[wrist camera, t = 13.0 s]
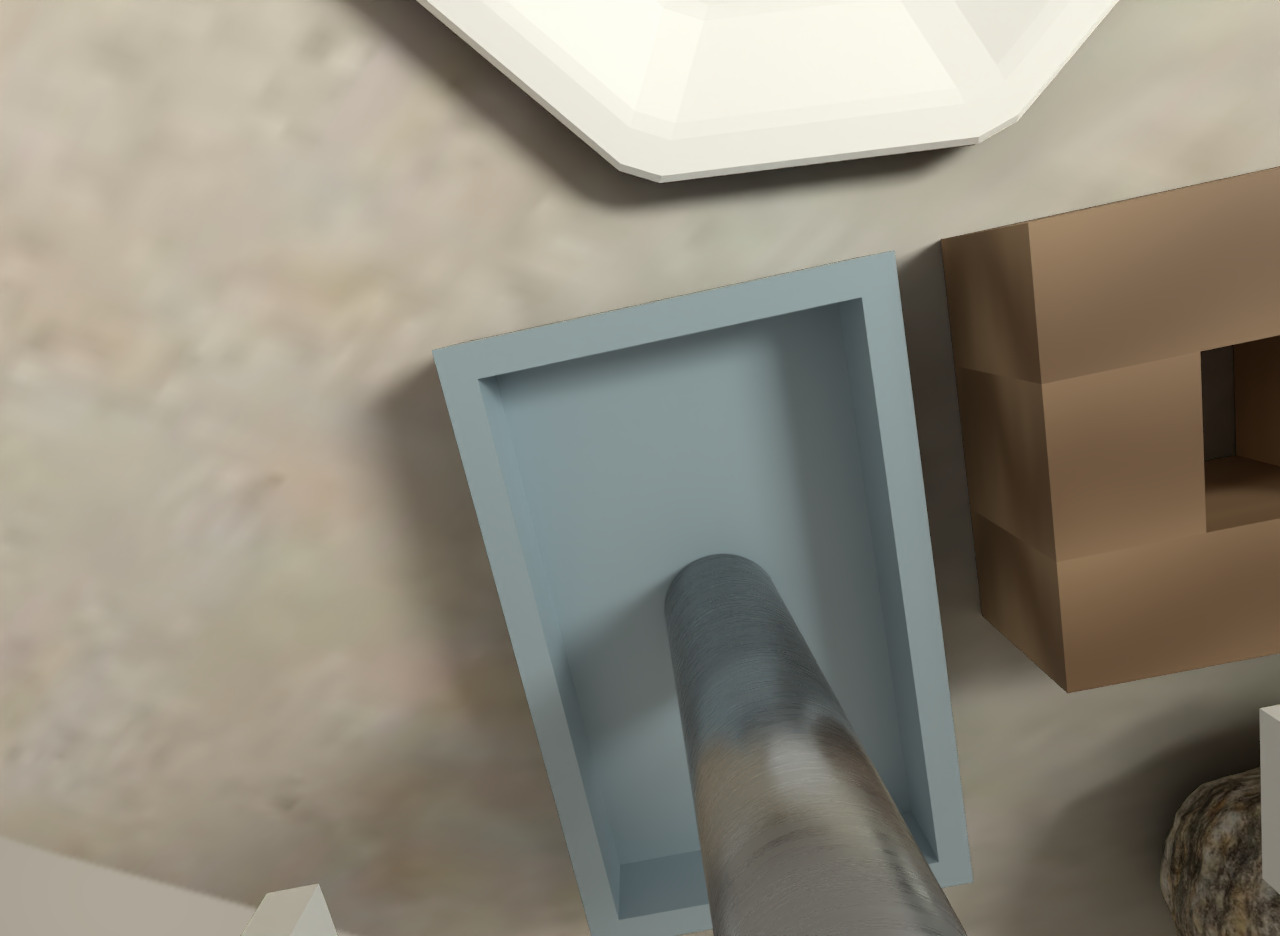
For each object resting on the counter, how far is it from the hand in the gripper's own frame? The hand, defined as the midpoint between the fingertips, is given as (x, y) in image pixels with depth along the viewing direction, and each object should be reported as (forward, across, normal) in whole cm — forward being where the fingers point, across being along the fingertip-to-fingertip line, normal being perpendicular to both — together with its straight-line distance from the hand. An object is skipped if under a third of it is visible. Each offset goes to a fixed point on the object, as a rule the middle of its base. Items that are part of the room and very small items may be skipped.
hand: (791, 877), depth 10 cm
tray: (+10, 0, 0) cm, 10 cm away
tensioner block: (+10, +12, +3) cm, 16 cm away
